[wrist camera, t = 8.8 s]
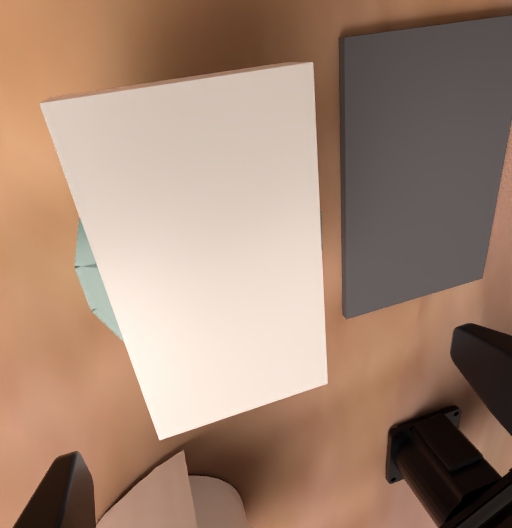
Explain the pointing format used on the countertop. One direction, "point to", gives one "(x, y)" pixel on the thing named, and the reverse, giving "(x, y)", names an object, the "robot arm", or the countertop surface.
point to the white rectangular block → (204, 233)
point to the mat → (420, 157)
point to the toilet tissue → (177, 501)
